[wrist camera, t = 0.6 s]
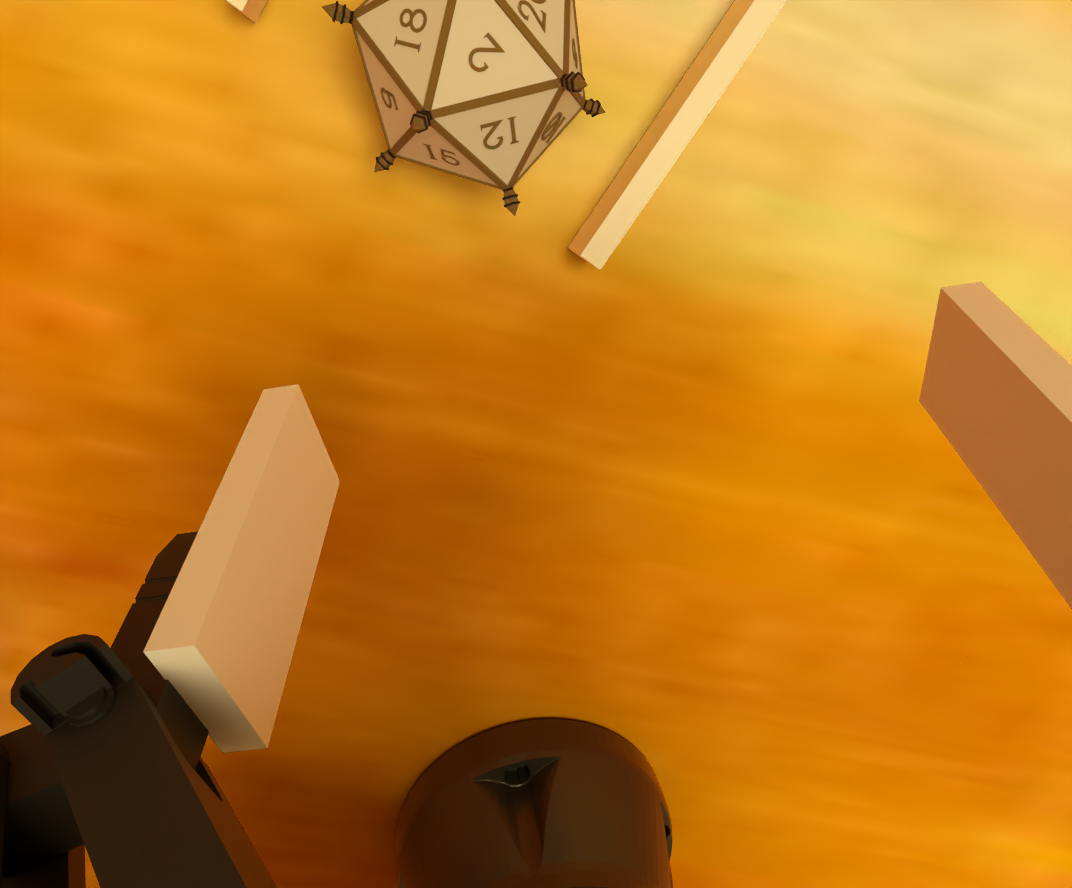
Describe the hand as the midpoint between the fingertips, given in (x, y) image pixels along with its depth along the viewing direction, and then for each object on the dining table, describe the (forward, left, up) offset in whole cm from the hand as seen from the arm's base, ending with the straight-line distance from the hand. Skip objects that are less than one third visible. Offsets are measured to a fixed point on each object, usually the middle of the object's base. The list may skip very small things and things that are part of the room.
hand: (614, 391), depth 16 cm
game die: (+5, +5, -17) cm, 19 cm away
